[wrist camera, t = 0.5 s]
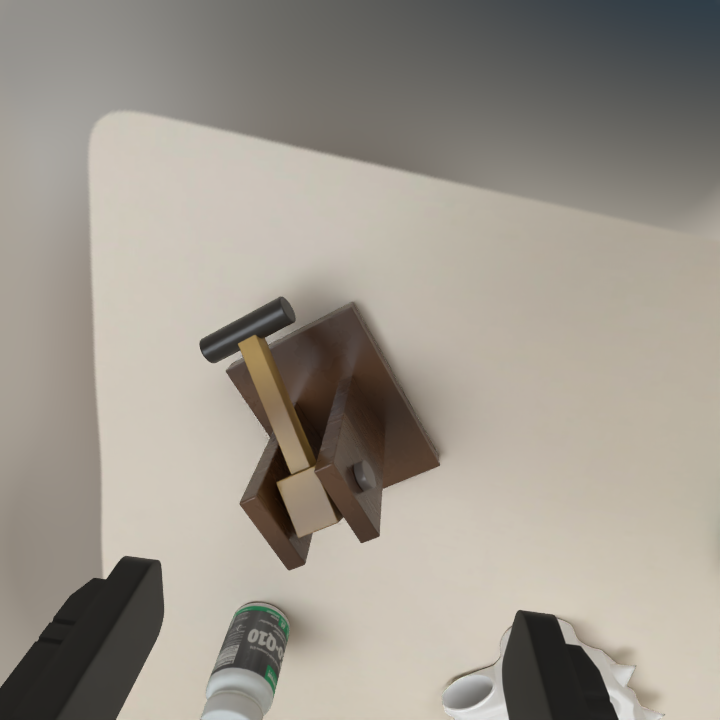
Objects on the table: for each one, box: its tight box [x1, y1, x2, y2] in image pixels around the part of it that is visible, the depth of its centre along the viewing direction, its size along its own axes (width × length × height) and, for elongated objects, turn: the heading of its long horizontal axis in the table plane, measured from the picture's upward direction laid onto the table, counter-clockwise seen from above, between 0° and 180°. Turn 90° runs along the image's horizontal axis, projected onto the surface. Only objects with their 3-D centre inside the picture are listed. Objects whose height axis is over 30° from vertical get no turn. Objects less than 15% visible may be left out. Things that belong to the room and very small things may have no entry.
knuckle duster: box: [442, 619, 664, 720], centre depth 40 cm, size 3×18×15 cm
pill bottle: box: [200, 603, 290, 720], centre depth 37 cm, size 5×5×8 cm
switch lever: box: [200, 297, 344, 538], centre depth 25 cm, size 11×5×2 cm, turn 29°
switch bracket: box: [226, 302, 440, 570], centre depth 28 cm, size 12×9×11 cm
